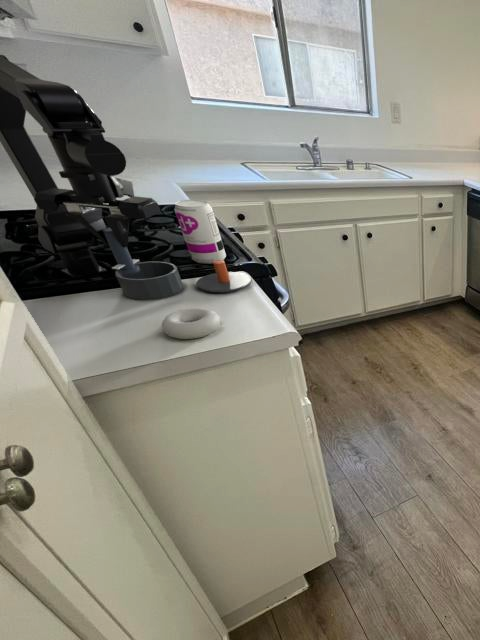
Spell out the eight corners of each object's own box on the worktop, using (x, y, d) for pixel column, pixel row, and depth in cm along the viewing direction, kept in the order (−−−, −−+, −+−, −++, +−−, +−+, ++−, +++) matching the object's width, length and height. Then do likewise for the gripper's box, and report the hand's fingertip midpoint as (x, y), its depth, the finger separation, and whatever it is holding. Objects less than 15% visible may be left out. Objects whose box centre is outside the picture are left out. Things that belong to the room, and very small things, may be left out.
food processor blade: (128, 277, 88) (109, 235, 83) (108, 276, 88) (88, 233, 82) (147, 266, 93) (131, 225, 88) (129, 264, 93) (111, 223, 88)
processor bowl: (114, 290, 96) (104, 269, 93) (166, 276, 105) (159, 257, 102) (141, 304, 93) (132, 284, 90) (193, 289, 101) (186, 270, 98)
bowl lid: (187, 284, 102) (178, 261, 99) (233, 272, 111) (226, 249, 108) (217, 299, 99) (209, 274, 95) (262, 284, 107) (256, 262, 104)
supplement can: (208, 266, 112) (189, 209, 103) (184, 260, 114) (164, 202, 105) (233, 258, 118) (218, 203, 109) (211, 251, 120) (193, 197, 111)
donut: (153, 336, 84) (196, 346, 83) (145, 321, 82) (190, 331, 81) (193, 316, 92) (233, 324, 91) (187, 301, 90) (228, 309, 89)
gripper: (161, 163, 86) (186, 238, 95) (58, 151, 83) (95, 230, 92) (126, 173, 77) (158, 255, 86) (10, 161, 74) (56, 246, 83)
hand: (118, 246), depth 87 cm, fingers closed on food processor blade, 2 cm apart
